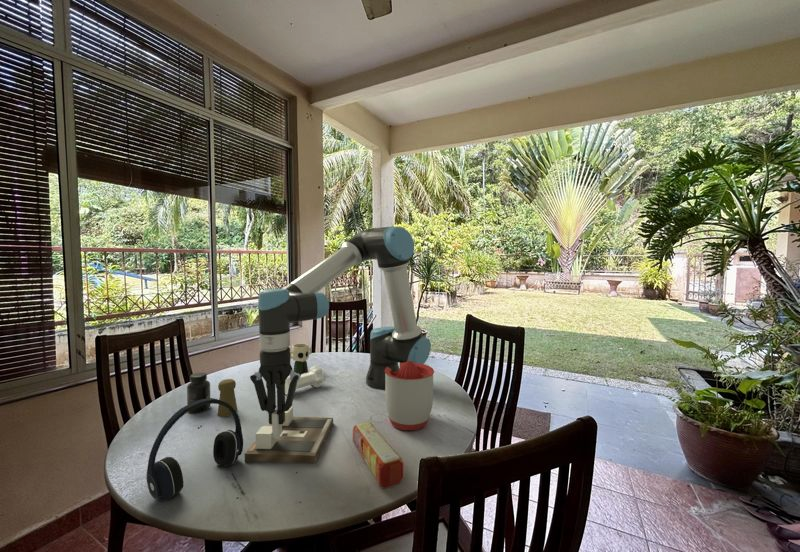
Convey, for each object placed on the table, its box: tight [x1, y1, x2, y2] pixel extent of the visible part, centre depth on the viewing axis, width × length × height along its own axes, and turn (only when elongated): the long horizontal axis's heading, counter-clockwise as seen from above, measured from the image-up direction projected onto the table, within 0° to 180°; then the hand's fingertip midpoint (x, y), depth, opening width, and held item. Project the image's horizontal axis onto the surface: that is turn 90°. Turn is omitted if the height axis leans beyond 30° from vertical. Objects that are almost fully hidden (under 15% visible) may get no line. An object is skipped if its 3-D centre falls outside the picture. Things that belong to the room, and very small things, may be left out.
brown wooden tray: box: [244, 416, 334, 464], centre depth 95 cm, size 18×20×2 cm
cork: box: [217, 378, 238, 418], centre depth 111 cm, size 6×6×11 cm
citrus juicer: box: [384, 360, 435, 431], centre depth 106 cm, size 16×17×20 cm
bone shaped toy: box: [285, 365, 325, 396], centre depth 131 cm, size 15×9×8 cm, turn 136°
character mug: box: [290, 343, 312, 374], centre depth 149 cm, size 11×7×13 cm, turn 136°
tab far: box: [282, 406, 294, 426], centre depth 101 cm, size 4×4×4 cm
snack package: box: [352, 421, 405, 489], centre depth 85 cm, size 21×7×7 cm, turn 25°
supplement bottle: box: [186, 372, 212, 414], centre depth 114 cm, size 7×7×12 cm
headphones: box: [145, 397, 244, 500], centre depth 78 cm, size 20×7×18 cm, turn 148°
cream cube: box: [255, 425, 277, 449], centre depth 89 cm, size 4×4×4 cm
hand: (277, 435), depth 89 cm, fingers closed
